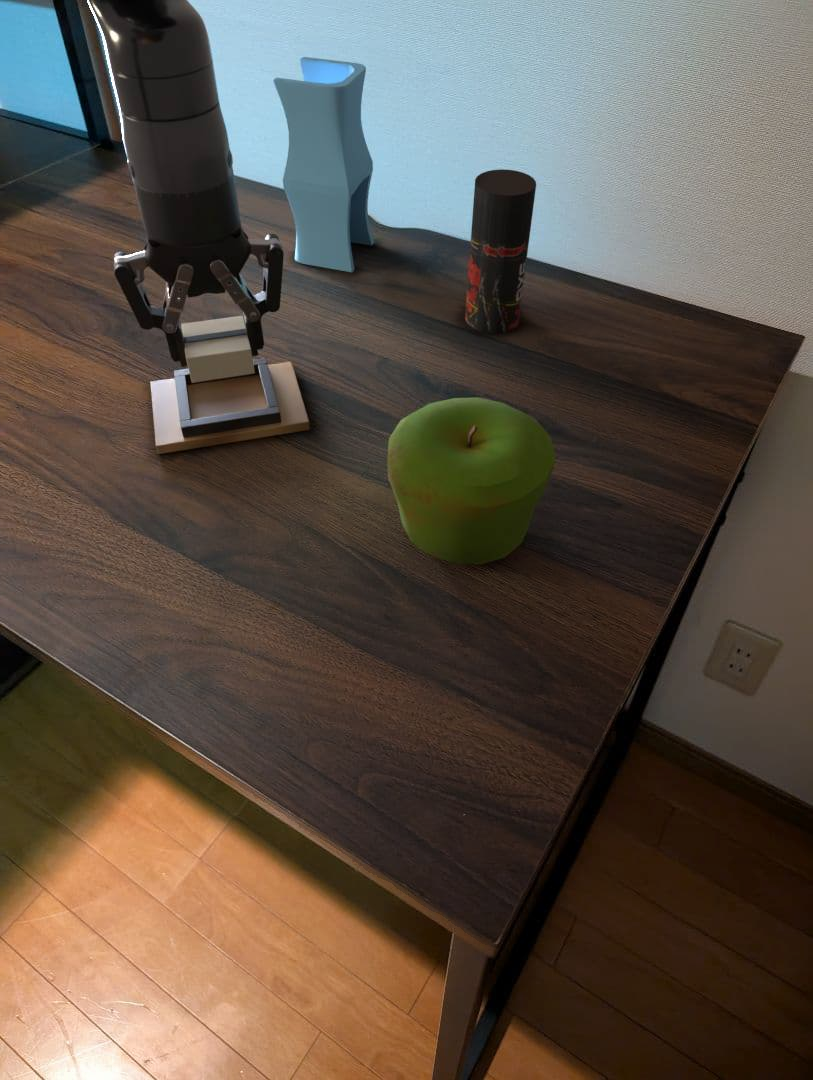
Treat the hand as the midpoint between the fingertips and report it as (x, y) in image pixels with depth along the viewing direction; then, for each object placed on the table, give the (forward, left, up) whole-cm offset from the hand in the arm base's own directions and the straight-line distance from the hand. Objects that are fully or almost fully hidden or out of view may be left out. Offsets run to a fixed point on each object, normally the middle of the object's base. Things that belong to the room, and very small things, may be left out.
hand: (218, 355), depth 72 cm
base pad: (0, 0, -6) cm, 6 cm away
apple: (+17, -21, -6) cm, 28 cm away
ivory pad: (0, 0, 0) cm, 0 cm away
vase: (+16, +28, -6) cm, 33 cm away
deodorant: (+30, +9, -6) cm, 32 cm away
